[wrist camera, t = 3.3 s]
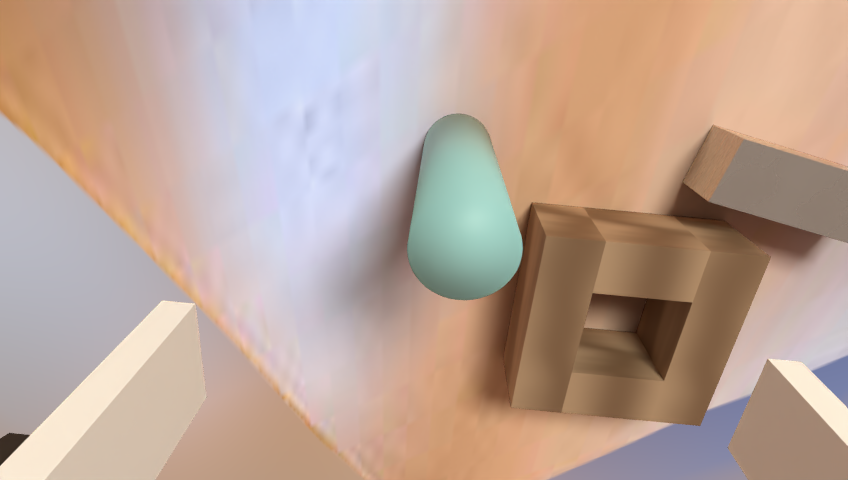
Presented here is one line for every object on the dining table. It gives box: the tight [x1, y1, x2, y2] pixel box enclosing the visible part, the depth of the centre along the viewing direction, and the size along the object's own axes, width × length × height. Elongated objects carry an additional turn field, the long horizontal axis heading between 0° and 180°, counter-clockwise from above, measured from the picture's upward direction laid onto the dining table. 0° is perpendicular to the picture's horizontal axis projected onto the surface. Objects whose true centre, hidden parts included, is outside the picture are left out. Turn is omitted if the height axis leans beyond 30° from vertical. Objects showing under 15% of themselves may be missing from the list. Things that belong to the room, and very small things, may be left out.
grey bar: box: [683, 125, 848, 243], centre depth 29 cm, size 10×4×4 cm, turn 74°
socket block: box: [503, 203, 771, 426], centre depth 32 cm, size 12×12×5 cm
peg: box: [407, 114, 523, 300], centre depth 24 cm, size 4×4×14 cm
